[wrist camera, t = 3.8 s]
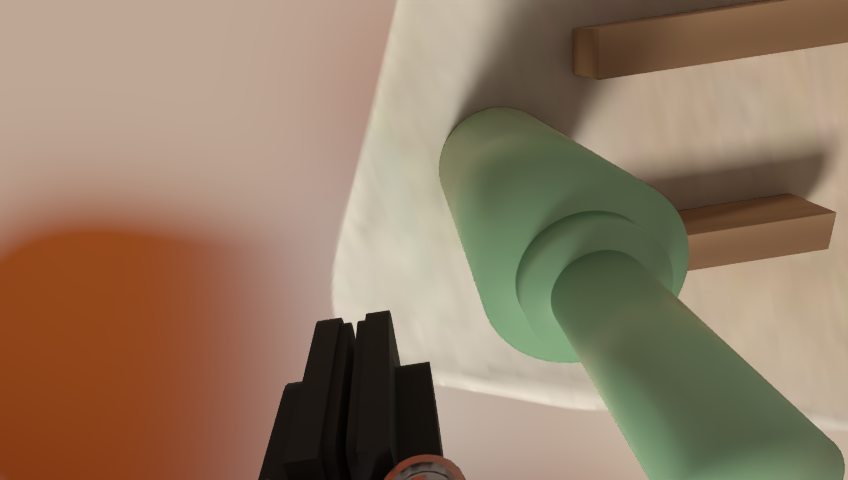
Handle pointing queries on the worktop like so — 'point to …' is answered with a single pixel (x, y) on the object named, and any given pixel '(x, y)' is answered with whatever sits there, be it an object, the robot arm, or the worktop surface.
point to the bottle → (615, 303)
